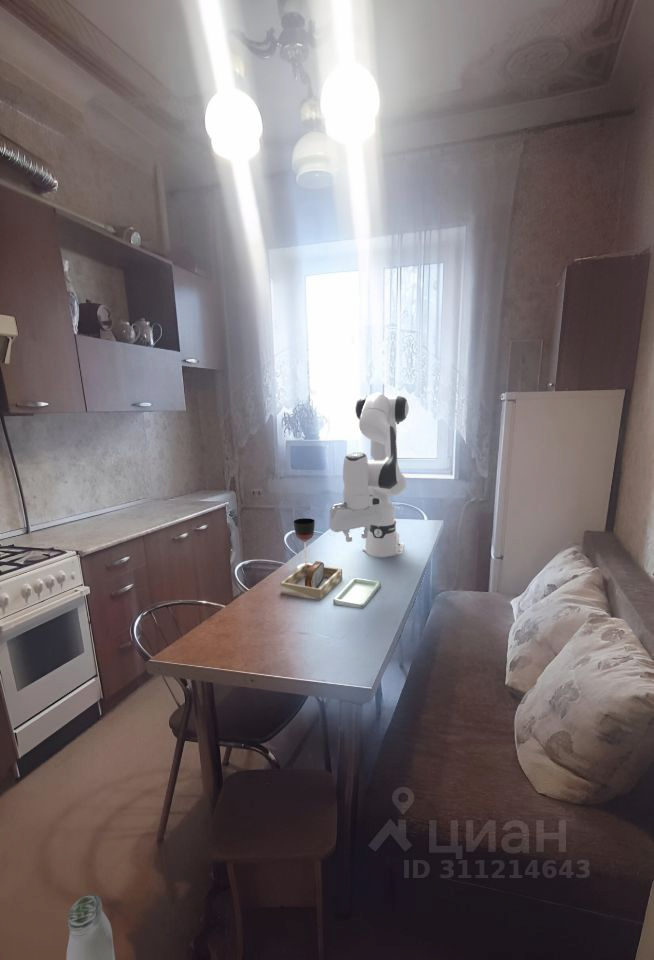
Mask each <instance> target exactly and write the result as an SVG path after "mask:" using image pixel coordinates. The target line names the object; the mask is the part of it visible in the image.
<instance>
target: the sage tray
mask: <svg viewBox="0 0 654 960" xmlns="http://www.w3.org/2000/svg"><path fill="white" fill-rule="evenodd" d="M381 585H382V584H381V581H376V580H372V579H364V578H360V577H359V578H358V577H353V578H352V579H351V580H349V582H348V583H347V584H346V585H345V587H343V589H341V591H340V592H339V593H338V594H337V595H336V596H335V597H334V598H333V600H332V603H333V604H332V605H337V606H345V607H352V608H357V609H363V608H364V607H365V606H366V605H367V604H368V602H369V601H370V600H371V598H372V597H373V596H374V595H375V593H376V592H377V591H378V590H379V589H380V588H381Z"/></svg>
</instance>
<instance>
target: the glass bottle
mask: <svg viewBox="0 0 654 960" xmlns="http://www.w3.org/2000/svg"><path fill="white" fill-rule="evenodd" d="M67 914H68V919H67V924H68V929H69V936H68V942H67V949H66V955H65V956H66V957H65V960H116V956H115V950H114V949H115V948H114V939H113V930H112V926H111V925H112V924H111V922H110V921H109V919H108V917H107V915H106V914H105V912H104V911H103V904H102V899H101V897H99V896H98V895H97V894H91V893H90V894H89V893H88V894H86V895H83V896H82V897H81V898H79V899H77V901H75V903H73V905H72V906H71V908H70V909H69V911H68V912H67Z"/></svg>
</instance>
